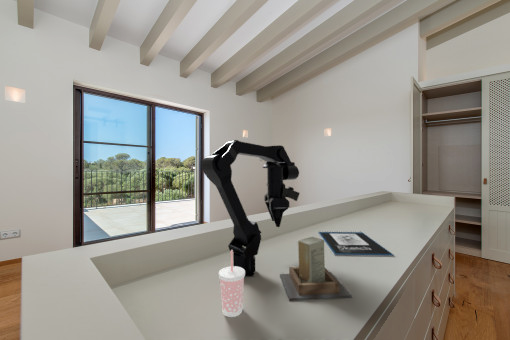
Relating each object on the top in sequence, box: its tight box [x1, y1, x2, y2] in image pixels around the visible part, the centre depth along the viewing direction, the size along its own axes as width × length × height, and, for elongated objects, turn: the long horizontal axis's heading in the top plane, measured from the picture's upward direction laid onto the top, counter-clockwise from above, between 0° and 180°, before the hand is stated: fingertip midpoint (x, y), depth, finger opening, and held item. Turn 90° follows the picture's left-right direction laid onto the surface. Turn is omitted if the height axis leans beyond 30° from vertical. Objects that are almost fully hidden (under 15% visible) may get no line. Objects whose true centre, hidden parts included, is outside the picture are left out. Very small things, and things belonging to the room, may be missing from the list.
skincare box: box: [297, 236, 326, 283], centre depth 62 cm, size 6×4×12 cm
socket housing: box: [279, 266, 353, 302], centre depth 62 cm, size 16×13×3 cm
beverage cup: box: [218, 250, 245, 318], centre depth 52 cm, size 6×6×14 cm
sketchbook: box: [318, 230, 395, 258], centre depth 98 cm, size 22×30×2 cm
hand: (275, 223), depth 81 cm, fingers open, 9 cm apart
